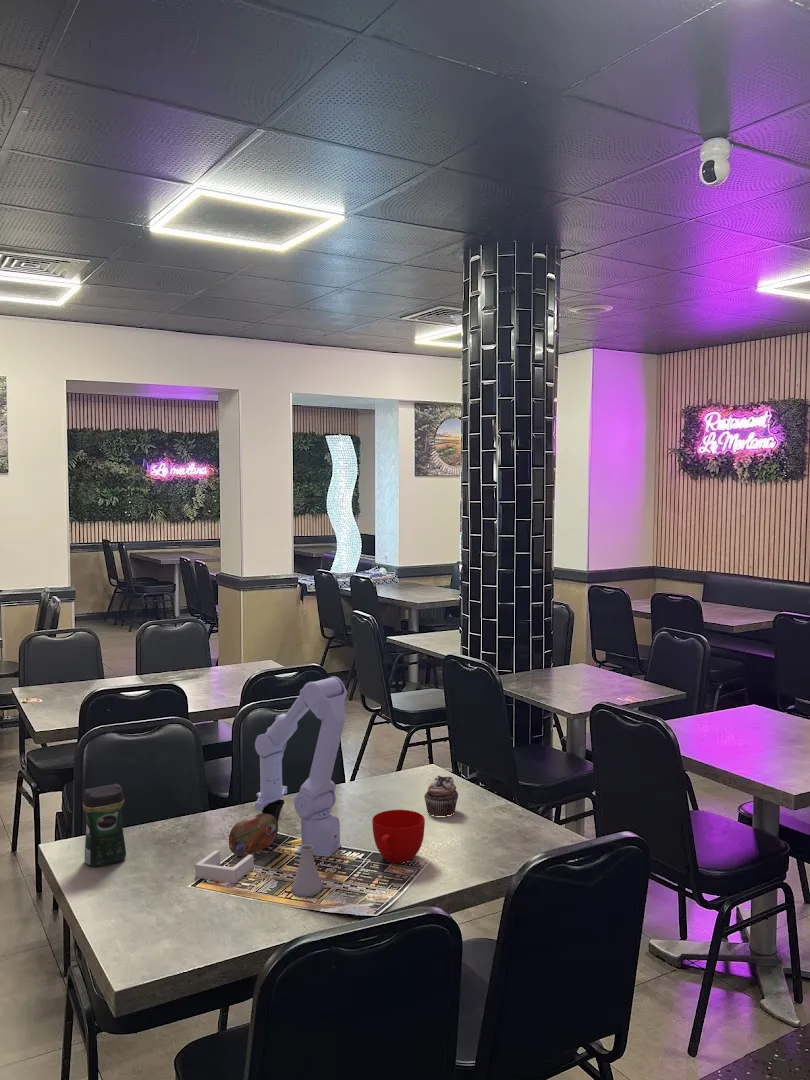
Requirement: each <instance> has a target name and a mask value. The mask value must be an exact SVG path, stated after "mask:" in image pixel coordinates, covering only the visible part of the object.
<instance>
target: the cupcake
mask: <svg viewBox="0 0 810 1080" xmlns="http://www.w3.org/2000/svg"><path fill="white" fill-rule="evenodd" d="M454 782H455V780H454V779H453V777H451V776H440V775H437V776H435V778H434V781H433V782H431V783H430V785H428V786H427V790H426V792H425V793H424V796H423V797H424V802H425V808H426V812H428V813H429V814H430V815H434V816H447V815H451V814H453V813H454V812H455V813H456V807H457V802H458V798H459V792H458V791H457V786H456V784H454ZM428 813H427V814H428ZM455 813H454V814H455ZM430 815H429V816H430Z"/></svg>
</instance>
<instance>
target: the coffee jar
mask: <svg viewBox="0 0 810 1080" xmlns="http://www.w3.org/2000/svg"><path fill="white" fill-rule="evenodd" d="M82 801H83V802H82V808H83V811H84V813H85V818H86V819H85V821H86V822H85V823H86V824H85V825H86V826H85V827H86V828H85V840H84V841H85V842H84V862H85V864H86V865H87V866H91V867H93V868H95V867H96V868H98V867H103V865H104V866H108V865H112V864H115V863H119V862H122V861H123V860H124V859H126V858H127V857H126V856H127V849H126V841H125V835H124V827H123V818H122V813H123V812H122V811H123V807H124V804H125V798H124V792H123V789H122V786H121V785H120V784H119V783H113V784H107V785H101V786H96V787H91V788H85V789H84V791H83V799H82Z"/></svg>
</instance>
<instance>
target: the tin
mask: <svg viewBox="0 0 810 1080" xmlns="http://www.w3.org/2000/svg"><path fill="white" fill-rule="evenodd" d="M278 832H279V821H278V822H277V820H276V818H275V817H274V816H273V815H272V814H265V813H262V812H261V813H258V814H255V815H253V816H251V817H249V818H246V819H244V820H241V821H239V822H236V823H235V824H234V826H232V828H231V830H230V831H229V834H228V846H229V849H230V852H231V853H232V854H234V855H236V856H240V857H243V858H245V857H246V856H248V855H254V854H255V853H257V852H259V851H262V850H265V849H266V848H268V847H270V846H271V845H272V844H273V843H274V842H275V840H276V838H277V837H278Z"/></svg>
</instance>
